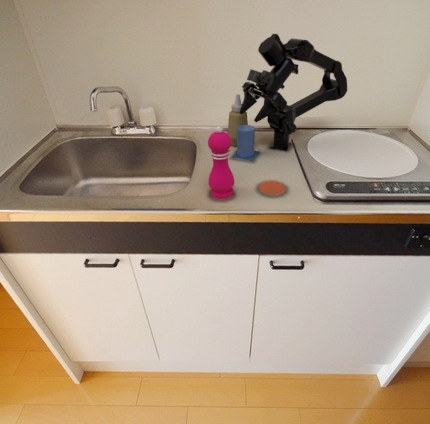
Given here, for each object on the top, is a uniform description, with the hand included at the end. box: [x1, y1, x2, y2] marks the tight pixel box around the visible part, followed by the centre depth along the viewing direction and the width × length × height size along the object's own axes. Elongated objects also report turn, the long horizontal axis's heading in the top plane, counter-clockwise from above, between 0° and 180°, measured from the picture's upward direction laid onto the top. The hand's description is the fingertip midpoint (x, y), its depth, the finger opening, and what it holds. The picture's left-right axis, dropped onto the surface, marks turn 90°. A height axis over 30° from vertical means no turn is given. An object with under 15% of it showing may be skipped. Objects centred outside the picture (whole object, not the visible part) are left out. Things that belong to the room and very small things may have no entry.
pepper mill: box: [207, 125, 235, 200], centre depth 75 cm, size 7×7×20 cm
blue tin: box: [236, 124, 256, 158], centre depth 97 cm, size 6×6×10 cm
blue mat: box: [231, 150, 260, 162], centre depth 100 cm, size 8×8×1 cm
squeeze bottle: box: [227, 93, 249, 147], centre depth 104 cm, size 8×8×18 cm
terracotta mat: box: [258, 180, 286, 196], centre depth 82 cm, size 8×8×1 cm
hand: (247, 117), depth 92 cm, fingers open, 9 cm apart
